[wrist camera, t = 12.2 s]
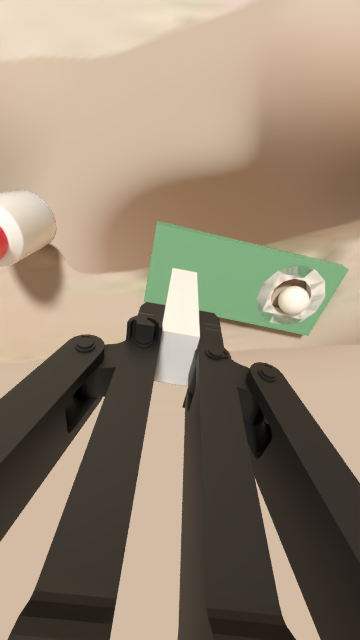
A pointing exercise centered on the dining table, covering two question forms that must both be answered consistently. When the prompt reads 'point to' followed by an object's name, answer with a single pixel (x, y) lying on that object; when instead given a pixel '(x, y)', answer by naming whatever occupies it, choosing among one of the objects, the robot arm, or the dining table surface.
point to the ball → (293, 300)
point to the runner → (240, 277)
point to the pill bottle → (23, 225)
